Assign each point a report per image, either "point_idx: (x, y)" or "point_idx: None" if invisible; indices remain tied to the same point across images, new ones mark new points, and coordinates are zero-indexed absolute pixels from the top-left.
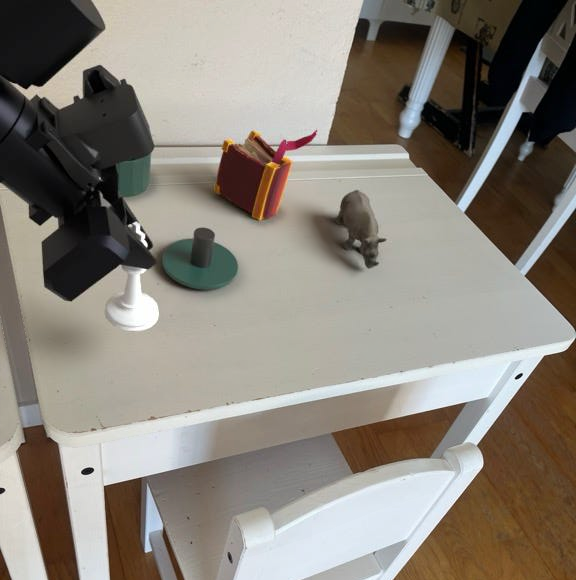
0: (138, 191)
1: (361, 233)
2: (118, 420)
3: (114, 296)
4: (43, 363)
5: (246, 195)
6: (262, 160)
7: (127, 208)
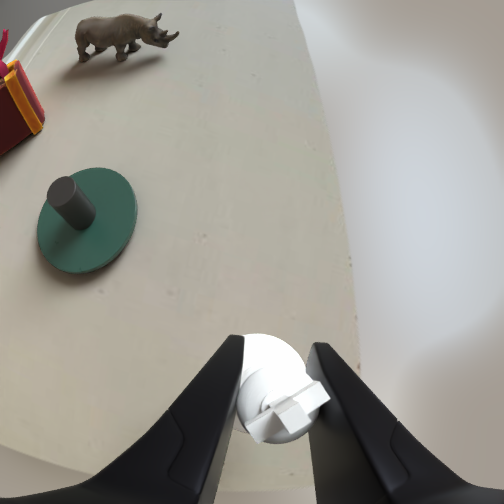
0: None
1: (134, 31)
2: None
3: None
4: (237, 486)
5: (13, 128)
6: None
7: (195, 442)
